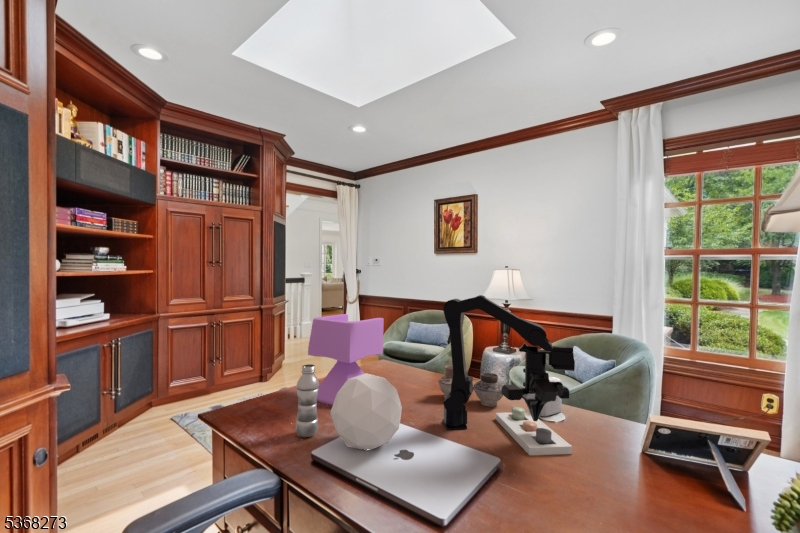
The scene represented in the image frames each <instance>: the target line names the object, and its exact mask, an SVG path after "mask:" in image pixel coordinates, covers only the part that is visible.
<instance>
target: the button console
mask: <svg viewBox="0 0 800 533" xmlns="http://www.w3.org/2000/svg"><path fill="white" fill-rule="evenodd" d="M495 421H496V422H498V424H500V425H501V427H503V429H504V430H505V431H506V432H507V433H508V434H509V435H510V436H511V437H512V439H514V441H515V442H516V443H517V444H518V445H519V446H520V447H521V448H522V449H523V450H524V452H526V454H527V455H528V456H550V455H551V456H554V455H573V445H571V444H570V443H569V442H567V440H565V439H563V437H561V436H560V435H559V434H558V433H556V431H555V430H553V429H552V428H550V427H549V425H547V424H546V423H544V422H543V421H542V420H540V419H539V418H538V421H533V419H532V416H531V414H530V411H525V420H520V421H515V420H513V419H512V412H495ZM525 421H531V422H534V423H536V424H537V428H544V429H548V430H550V431H551V444H547V445H541V444H538V443H537V442H536V432H526V431H524V430H523V422H525Z"/></svg>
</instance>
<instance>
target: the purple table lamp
mask: <svg viewBox="0 0 800 533" xmlns="http://www.w3.org/2000/svg"><path fill="white" fill-rule="evenodd" d="M384 326H385V325H384V317H376V318H375V317H374V318H369V319H363V320H357V321H356V320H353V321H351V320H350V321H349V314H348V313H343V314H335V315H334V314H333V315H328V316H327V315H326V316H318V317H314V318H313V319H312V325H311V329H310V335H309V342H308V346H307V348H308V349H307V355H308V356H312V357H322V358H330V359H333V360H336V362H335V364H333V367H332V368H331V370H330V371H329V372H328V373H327V374H326V376H325V377H324V379H323V380H322V381H321V382H320V383H319V389H318V396H317V402H319V403H322V404H326V405H330V406H333V403H334V400H335V397H336V394H337V393H338V391H339V390H340V389H341V388H342V386H343V385H344V384H345V382H346V381H347V380H348V379H350V378H353V377H356V376H359V375H362V374H365V372H364V371H363V370H362V368H361V367H360V366H359V365H358V363H357V361H360V360H362V359H364V358H366V357H370V356H377V355H381V354H384V329H385V328H384Z"/></svg>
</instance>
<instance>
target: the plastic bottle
mask: <svg viewBox="0 0 800 533" xmlns="http://www.w3.org/2000/svg"><path fill="white" fill-rule="evenodd" d="M315 373H316V366H315V364H310V363H309V364H303V365H302V366H301V376H299V379H298V380H297V383H296V395H297V416H296V422H295V426H294V427H295V433H296V434H297V436H298V437H300V438H311V437H312V436H315V435H316V434H317V432H318V431H319V430H318V429H319V426H320V424H319V418H318V407H317V406H318V401H317V396H318V389H319V385H320V381H319V379H318V377H317V376H316V374H315Z"/></svg>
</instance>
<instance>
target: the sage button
mask: <svg viewBox="0 0 800 533" xmlns="http://www.w3.org/2000/svg"><path fill="white" fill-rule="evenodd" d="M525 412H526V409H524V408H523V407H520V406H515V407H511V413H512V419H513V420H514V421H520V420H525Z"/></svg>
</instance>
